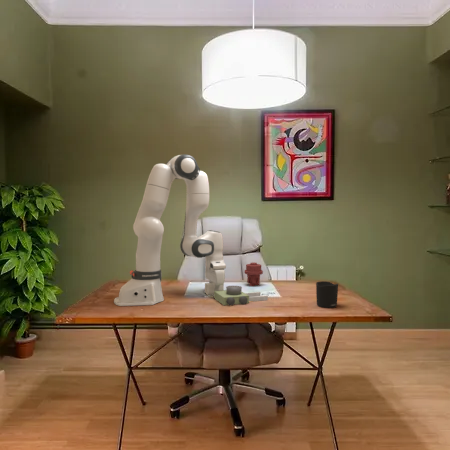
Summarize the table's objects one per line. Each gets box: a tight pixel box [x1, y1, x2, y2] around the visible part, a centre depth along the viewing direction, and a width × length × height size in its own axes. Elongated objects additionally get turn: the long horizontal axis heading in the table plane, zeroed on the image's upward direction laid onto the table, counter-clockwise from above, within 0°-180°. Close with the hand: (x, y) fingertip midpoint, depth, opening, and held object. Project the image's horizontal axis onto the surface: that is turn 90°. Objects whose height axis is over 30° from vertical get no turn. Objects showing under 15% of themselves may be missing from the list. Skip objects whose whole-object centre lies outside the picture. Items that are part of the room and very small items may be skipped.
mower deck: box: [213, 285, 269, 306], centre depth 190 cm, size 22×15×6 cm
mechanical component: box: [244, 261, 264, 287], centre depth 224 cm, size 12×10×10 cm
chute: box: [204, 282, 225, 296], centre depth 203 cm, size 8×6×5 cm
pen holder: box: [315, 281, 339, 309], centre depth 180 cm, size 9×9×10 cm
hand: (214, 290), depth 203 cm, fingers closed on chute, 5 cm apart
